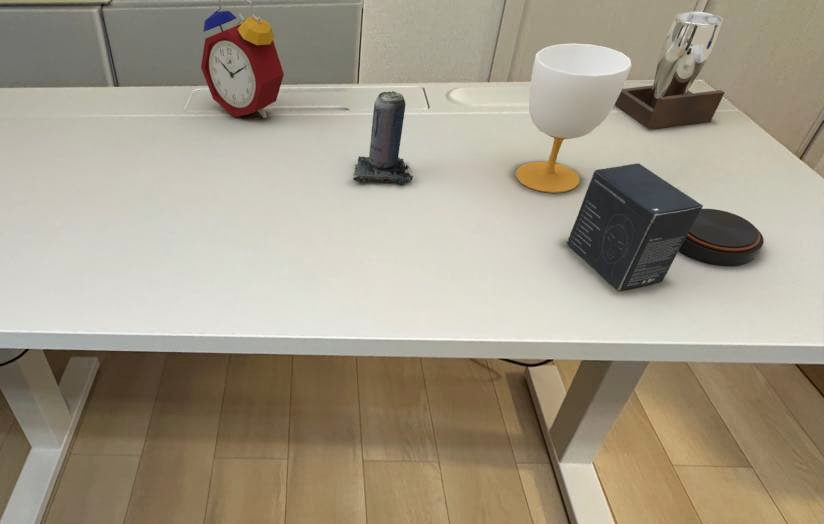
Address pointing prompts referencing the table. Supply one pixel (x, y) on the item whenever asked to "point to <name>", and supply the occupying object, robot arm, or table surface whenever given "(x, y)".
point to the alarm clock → (241, 64)
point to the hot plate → (722, 239)
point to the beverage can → (385, 142)
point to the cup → (570, 103)
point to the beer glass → (684, 53)
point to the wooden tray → (669, 107)
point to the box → (632, 225)
